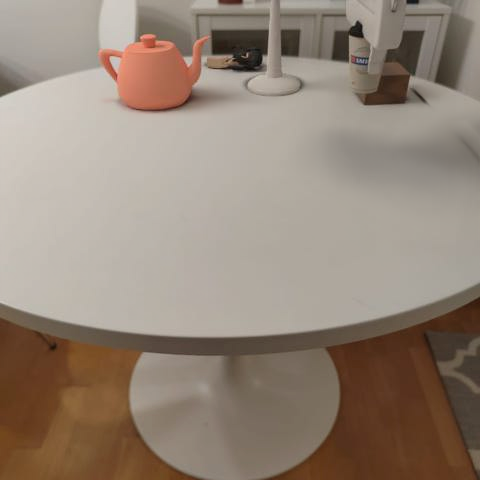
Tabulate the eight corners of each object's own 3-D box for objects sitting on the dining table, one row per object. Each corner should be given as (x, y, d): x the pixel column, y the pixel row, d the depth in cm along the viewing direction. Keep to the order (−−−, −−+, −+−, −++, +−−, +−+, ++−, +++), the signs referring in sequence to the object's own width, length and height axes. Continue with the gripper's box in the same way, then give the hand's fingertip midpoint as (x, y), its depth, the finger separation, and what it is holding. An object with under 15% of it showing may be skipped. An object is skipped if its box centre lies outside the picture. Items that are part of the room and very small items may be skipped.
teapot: (216, 85, 113) (212, 24, 104) (212, 111, 100) (207, 44, 91) (116, 88, 114) (103, 27, 105) (99, 113, 101) (84, 47, 92)
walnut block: (392, 89, 107) (397, 61, 103) (404, 103, 100) (410, 74, 96) (354, 91, 107) (358, 63, 103) (364, 105, 100) (368, 76, 96)
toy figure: (206, 74, 120) (263, 70, 119) (203, 48, 117) (262, 43, 116) (209, 70, 126) (263, 65, 125) (206, 44, 123) (262, 40, 122)
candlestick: (258, 76, 117) (257, -72, 97) (306, 80, 113) (315, -72, 94) (239, 93, 108) (234, -66, 89) (291, 98, 105) (298, -67, 85)
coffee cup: (349, 80, 80) (356, 15, 74) (389, 84, 78) (400, 18, 71) (336, 93, 76) (342, 25, 69) (377, 98, 73) (388, 28, 67)
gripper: (426, -30, 57) (405, 84, 67) (381, -48, 73) (369, 47, 82) (376, -27, 58) (362, 87, 67) (342, -45, 73) (334, 49, 82)
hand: (366, 65), depth 74 cm, fingers closed on coffee cup, 7 cm apart
